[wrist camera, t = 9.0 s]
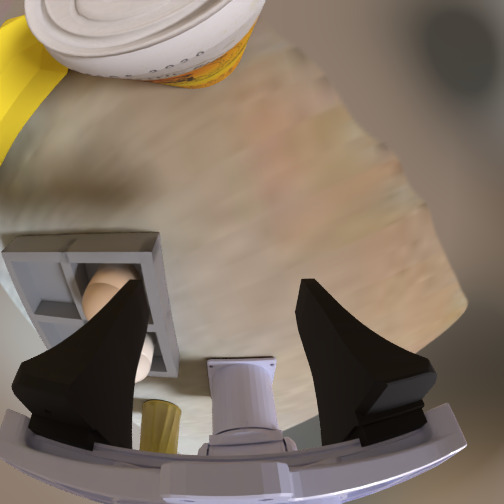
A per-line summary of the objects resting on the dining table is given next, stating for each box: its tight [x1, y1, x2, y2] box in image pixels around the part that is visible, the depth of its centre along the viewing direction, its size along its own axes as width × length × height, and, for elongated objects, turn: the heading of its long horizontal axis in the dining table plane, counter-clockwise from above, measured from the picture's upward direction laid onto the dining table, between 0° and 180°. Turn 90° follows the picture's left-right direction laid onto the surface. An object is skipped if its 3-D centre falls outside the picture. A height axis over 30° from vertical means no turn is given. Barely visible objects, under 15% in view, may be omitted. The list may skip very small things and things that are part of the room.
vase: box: [140, 400, 181, 454], centre depth 31 cm, size 6×6×14 cm
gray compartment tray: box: [1, 232, 180, 378], centre depth 24 cm, size 16×16×3 cm
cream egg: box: [135, 332, 156, 383], centre depth 25 cm, size 4×4×6 cm
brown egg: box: [82, 263, 141, 321], centre depth 21 cm, size 4×4×6 cm
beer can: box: [24, 0, 266, 89], centre depth 9 cm, size 6×6×15 cm
